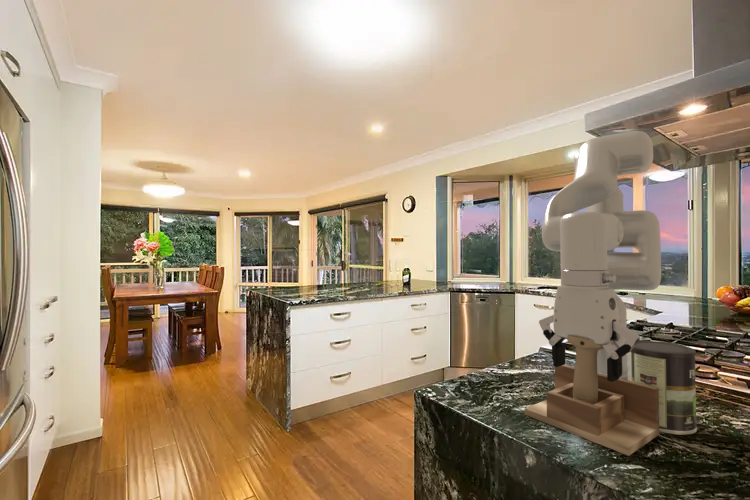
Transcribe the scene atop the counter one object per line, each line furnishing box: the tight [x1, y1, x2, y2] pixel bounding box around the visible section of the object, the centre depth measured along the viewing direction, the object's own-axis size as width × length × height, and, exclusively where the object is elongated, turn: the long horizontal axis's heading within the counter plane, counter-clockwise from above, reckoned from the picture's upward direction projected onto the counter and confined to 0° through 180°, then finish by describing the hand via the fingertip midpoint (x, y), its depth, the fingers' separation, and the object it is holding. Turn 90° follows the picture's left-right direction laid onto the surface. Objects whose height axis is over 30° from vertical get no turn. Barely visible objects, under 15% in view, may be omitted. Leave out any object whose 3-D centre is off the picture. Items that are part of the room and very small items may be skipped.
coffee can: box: [627, 339, 698, 436], centre depth 69 cm, size 10×10×14 cm
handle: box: [566, 335, 604, 405], centre depth 67 cm, size 5×6×15 cm
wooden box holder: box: [524, 364, 660, 457], centre depth 68 cm, size 12×18×8 cm, turn 34°
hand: (584, 372), depth 68 cm, fingers open, 9 cm apart
